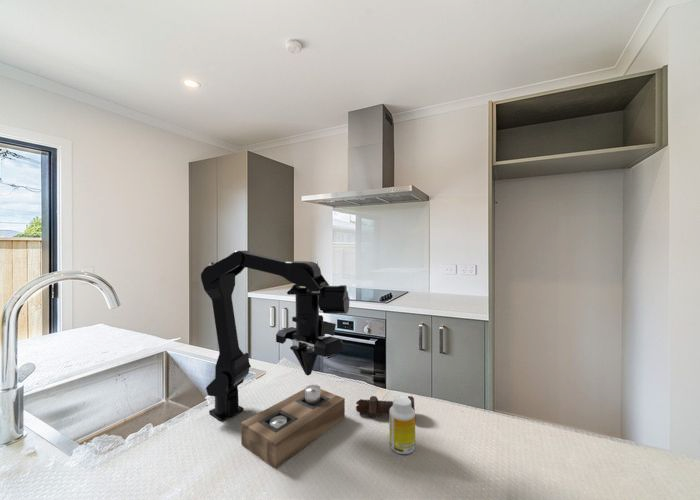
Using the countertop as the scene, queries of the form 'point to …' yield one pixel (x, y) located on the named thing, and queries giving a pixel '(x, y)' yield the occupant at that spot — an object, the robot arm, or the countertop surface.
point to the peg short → (312, 395)
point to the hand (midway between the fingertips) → (308, 374)
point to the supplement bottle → (402, 425)
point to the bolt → (377, 406)
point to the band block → (291, 426)
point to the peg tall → (278, 421)
